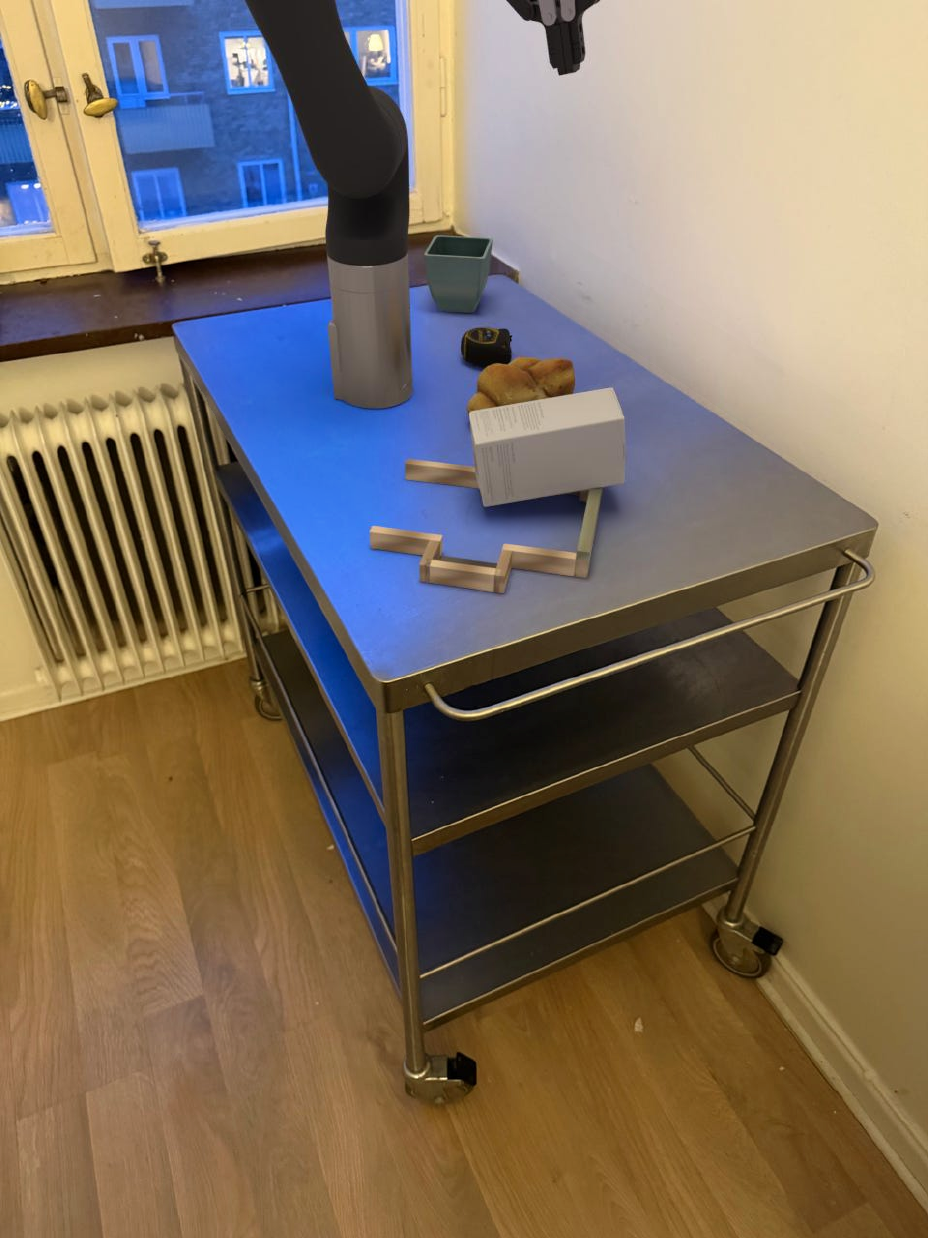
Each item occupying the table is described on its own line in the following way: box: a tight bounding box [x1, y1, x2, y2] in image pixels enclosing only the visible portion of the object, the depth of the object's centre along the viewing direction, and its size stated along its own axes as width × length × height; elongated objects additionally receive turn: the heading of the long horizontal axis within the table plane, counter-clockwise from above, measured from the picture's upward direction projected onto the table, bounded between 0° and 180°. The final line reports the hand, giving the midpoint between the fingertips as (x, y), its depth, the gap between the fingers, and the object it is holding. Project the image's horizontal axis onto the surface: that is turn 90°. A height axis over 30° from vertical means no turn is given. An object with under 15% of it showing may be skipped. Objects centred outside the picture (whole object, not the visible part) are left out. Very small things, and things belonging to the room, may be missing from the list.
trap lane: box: [369, 458, 604, 594], centre depth 90 cm, size 21×24×3 cm
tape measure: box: [460, 326, 513, 368], centre depth 118 cm, size 7×7×4 cm
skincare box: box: [468, 386, 627, 508], centre depth 88 cm, size 8×6×15 cm
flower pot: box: [423, 234, 494, 314], centre depth 130 cm, size 9×9×9 cm
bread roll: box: [466, 355, 576, 417], centre depth 104 cm, size 13×10×8 cm
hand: (569, 71), depth 77 cm, fingers closed
